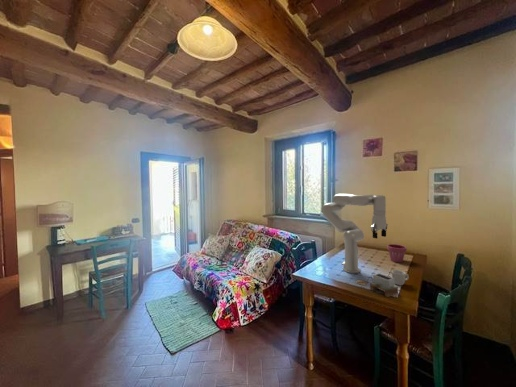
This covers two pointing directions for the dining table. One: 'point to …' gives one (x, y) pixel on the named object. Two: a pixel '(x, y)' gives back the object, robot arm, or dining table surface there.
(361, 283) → the coaster
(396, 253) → the plant pot
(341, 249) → the dining table surface
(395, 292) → the stand
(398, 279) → the cup
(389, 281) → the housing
